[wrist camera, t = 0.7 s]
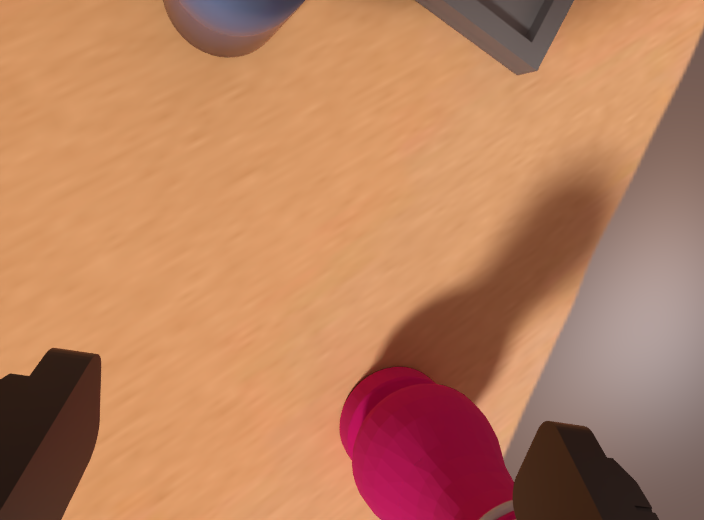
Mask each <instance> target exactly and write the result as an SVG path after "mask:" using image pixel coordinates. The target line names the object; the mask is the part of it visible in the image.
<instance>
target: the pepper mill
mask: <svg viewBox="0 0 704 520" xmlns="http://www.w3.org/2000/svg"><path fill="white" fill-rule="evenodd" d="M340 437H341V441H342V444H343V446H344V448H345V450H346V452H347V454H348V455H349V457H350V459H351V460H352V468H353V476H354V479H355V483H356V486H357V488H358V490H359V493H360V494H361V496H362V497H363V499H364V500H365V502H366V503H367V505H368V506H369V507H370V508H371V510H372V511H373V512H374V514H375V515H376V516H377V517H379V518H380V519H381V520H517V519H516V516H515V513H514V508H513V486H514V482H513V480H512V478H511V476H510V474H509V473H508V471H507V469H506V467H505V464H504V460H503V456H502V453H501V449H500V445H499V442H498V439H497V437H496V435H495V433H494V431H493V429H492V427H491V425H490V423H489V421H488V420H487V418H486V417H485V415H484V414H483V413H482V412H481V411H480V409H479V408H478V407H477V406H476V405H475V404H474V403H473V402H472V401H471V400H470V399H468V398H467V397H466V396H465V395H464V394H462V393H460V392H459V391H457V390H455V389H453V388H450V387H447V386H444V385H439V384H436V383H435V382H434V381H432V380H431V379H430V378H429V377H428V376H426V375H425V374H423V373H422V372H420V371H418V370H415V369H412V368H408V367H391V368H386V369H382V370H380V371H377V372H375V373H373V374H371V375H370V376H368V377H366V378H365V379H364V380H363V381H361V382H360V383H359V384H358V385H357V386H356V387H355V388H354V390H353V391H352V392H351V394H350V395H349V397H348V398H347V400H346V402H345V404H344V407H343V410H342V413H341V418H340Z"/></svg>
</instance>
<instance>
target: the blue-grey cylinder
mask: <svg viewBox="0 0 704 520" xmlns="http://www.w3.org/2000/svg"><path fill="white" fill-rule="evenodd" d="M304 1H305V0H163V2H164V6H165V9H166V12H167V14H168V17H169V18H170V20H171V22H172V24H173V25H174V27H175V28H176V30H177V31H178V32H179V33H180V35H181V36H182V37H183V38H184V39H185V40H187V41H188V42H189V43H190V44H191V45H193V46H194V47H196V48H197V49H199V50H201V51H203V52H205V53H208V54H211V55H214V56H219V57H239V56H244V55H247V54H250V53H252V52H254V51H256V50H257V49H259V48H260V47H262V46H263V45H264V44H265V43H266V42H267V41H268V40H269V39H270V38H271V37H272V36H273V35H274V34H275V33H276V31H277V30H278V29H279V28H280V27H281V26H282V25H283V24H284V23H285V22H286V21H287V20H288V18H289V17H290V16H291V15H292V14H293V13H294V12H295V11H296V10H297V9H298V8H299V7H300V5H301V4H302V3H303V2H304Z"/></svg>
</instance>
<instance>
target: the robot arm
mask: <svg viewBox="0 0 704 520" xmlns="http://www.w3.org/2000/svg"><path fill="white" fill-rule="evenodd" d="M100 388H101V358H100V356H99V355H98V354H93V353H86V352H79V351H72V350H65V349H58V348H51V349H50V350H49V351H48V352H47V353H46V354H45V355H44V357H43V358H42V360H41V361H40V362H39V364H38V365H37V366H36V368H35V369H34V371H33V372H32V373H31V375H30V376H24V375H17V374H8V375H7V376H5V377H4V378H2V379H0V520H61V519H62V517H63V515H64V513H65V511H66V508H67V506H68V504H69V502H70V500H71V498H72V496H73V494H74V492H75V490H76V488H77V486H78V484H79V482H80V480H81V477H82V475H83V473H84V471H85V469H86V467H87V465H88V463H89V461H90V459H91V456H92V453H93V450H94V447H95V444H96V440H97V436H98V430H99V421H100ZM513 508H514V513H515V516H516V519H517V520H659V519H658V517H657V515H656V514H655V513H652V510H651V509H652V507H651V505H650V504H649V502H648V500H647V499H646V497H645V495H644V494H643V492H642V490H641V489H640V487H639V485H638V484H637V482H636V481H635V480H634V479H633V478H632V477H631V476H630V475H629V474H628V473H627V472H626V471H625V470H624V469H623V468H622V467H621V466H620V465H619V464H618V463H617V462H616V461H615V460H614V459H613V458H607V457H606V455H605V453H604V452H603V450H602V448H601V447H600V445H599V443H598V441H597V440H596V438H595V436H594V434H593V433H592V431H591V430H590V429H589V428H587V427H585V426H579V425H573V424H566V423H559V422H552V421H545V422H543V423H542V424H541V426H540V427H539V429H538V431H537V433H536V435H535V437H534V439H533V441H532V444H531V446H530V448H529V450H528V452H527V455H526V457H525V459H524V461H523V463H522V465H521V468H520V470H519V472H518V474H517V476H516V479H515V482H514V486H513Z"/></svg>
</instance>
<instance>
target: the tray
mask: <svg viewBox="0 0 704 520" xmlns="http://www.w3.org/2000/svg"><path fill="white" fill-rule="evenodd" d="M415 1H417V2H418V3H419V4H421V5H422V6H424V7H425V8H426V9H428V10H429V11H430V12H432V13H433V14H434V15H436V16H437V17H439V18H440V19H441V20H443V21H444V22H445V23H447V24H448V25H449V26H451V27H452V28H453V29H455V30H456V31H458V32H459V33H460V34H462V35H463V36H464V37H466V38H467V39H468V40H470V41H471V42H473V43H474V44H475V45H477V46H478V47H479V48H481V49H482V50H483V51H485V52H486V53H488V54H489V55H490V56H492V57H493V58H494V59H496V60H497V61H498V62H500V63H501V64H502V65H504V66H505V67H507V68H508V69H509V70H511V71H512V72H513V73H515V74H516V75H521V74H525V73H530V72H534V71H537V70H538V68H539V66H540V64H541V62H542V60H543V59H544V57H545V55H546V53H547V51H548V49H549V47H550V45H551V43H552V41H553V39H554V37H555V36H556V34H557V32H558V30H559V28H560V26H561V24H562V22H563V20H564V18H565V16H566V15H567V13H568V11H569V9H570V7H571V5H572V3H573V1H574V0H415Z"/></svg>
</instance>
